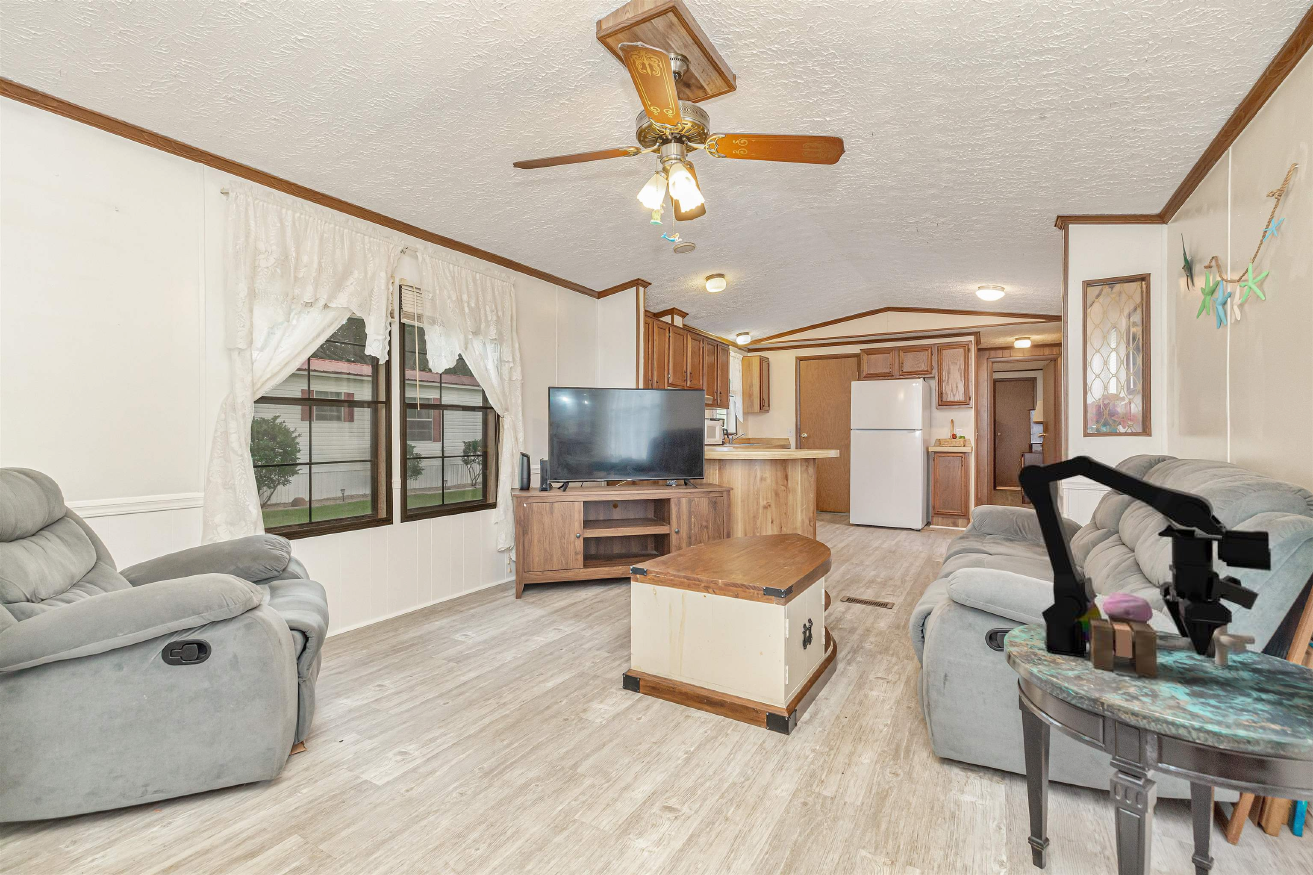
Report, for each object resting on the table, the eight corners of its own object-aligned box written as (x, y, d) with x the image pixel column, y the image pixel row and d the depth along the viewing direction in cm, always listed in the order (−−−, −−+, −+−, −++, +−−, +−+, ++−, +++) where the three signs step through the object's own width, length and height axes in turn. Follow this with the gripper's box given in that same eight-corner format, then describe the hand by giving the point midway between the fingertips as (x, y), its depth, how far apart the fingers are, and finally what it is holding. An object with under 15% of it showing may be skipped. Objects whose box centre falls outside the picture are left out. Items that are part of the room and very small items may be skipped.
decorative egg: (1049, 632, 137) (1048, 588, 137) (1081, 630, 138) (1080, 587, 138) (1078, 643, 128) (1077, 597, 129) (1112, 642, 129) (1111, 596, 130)
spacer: (1116, 656, 113) (1115, 628, 113) (1111, 647, 118) (1111, 621, 118) (1132, 658, 112) (1131, 630, 112) (1126, 649, 117) (1126, 623, 117)
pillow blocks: (1093, 668, 115) (1093, 625, 115) (1089, 658, 120) (1088, 617, 120) (1157, 677, 110) (1156, 632, 110) (1149, 666, 115) (1148, 623, 115)
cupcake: (1100, 630, 137) (1099, 587, 137) (1148, 636, 133) (1147, 591, 133) (1106, 641, 129) (1105, 596, 130) (1157, 648, 125) (1156, 600, 125)
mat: (1115, 674, 111) (1115, 673, 111) (1106, 657, 120) (1106, 656, 120) (1138, 677, 110) (1138, 676, 110) (1127, 660, 119) (1127, 658, 119)
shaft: (1099, 646, 115) (1098, 625, 115) (1096, 640, 119) (1095, 620, 119) (1215, 661, 107) (1215, 639, 107) (1208, 654, 110) (1208, 633, 110)
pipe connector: (1272, 675, 110) (1271, 621, 110) (1210, 672, 112) (1209, 619, 112) (1232, 656, 120) (1231, 607, 120) (1175, 653, 122) (1174, 604, 122)
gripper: (1273, 577, 98) (1274, 672, 98) (1232, 557, 114) (1234, 639, 114) (1184, 570, 103) (1186, 660, 103) (1158, 553, 120) (1159, 630, 119)
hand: (1193, 647), depth 110 cm, fingers open, 9 cm apart
